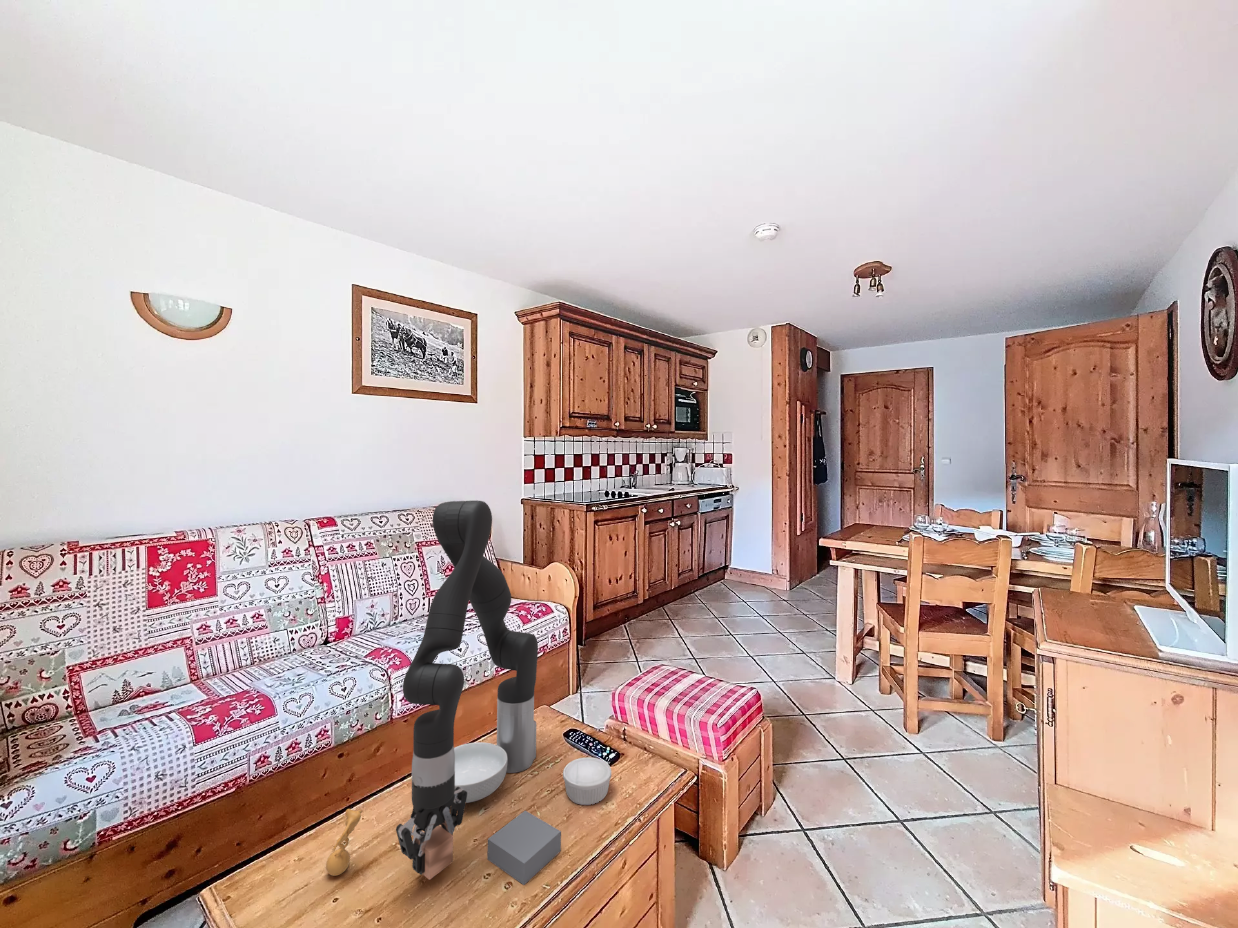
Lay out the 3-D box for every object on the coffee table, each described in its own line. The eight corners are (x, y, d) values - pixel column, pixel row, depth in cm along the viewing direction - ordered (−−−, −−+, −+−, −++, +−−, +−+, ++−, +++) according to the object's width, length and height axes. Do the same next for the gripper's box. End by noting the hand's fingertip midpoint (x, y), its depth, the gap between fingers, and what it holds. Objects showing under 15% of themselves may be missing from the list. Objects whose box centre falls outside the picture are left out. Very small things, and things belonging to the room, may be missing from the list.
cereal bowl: (475, 761, 130) (475, 733, 130) (522, 785, 121) (522, 756, 121) (416, 796, 116) (416, 766, 116) (463, 828, 107) (464, 794, 107)
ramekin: (554, 788, 120) (554, 766, 120) (593, 772, 127) (593, 751, 127) (579, 816, 111) (579, 792, 111) (620, 796, 118) (620, 774, 118)
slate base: (524, 829, 107) (525, 810, 107) (560, 850, 101) (560, 831, 101) (487, 859, 99) (487, 838, 99) (523, 884, 93) (524, 863, 93)
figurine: (339, 854, 99) (340, 793, 99) (370, 855, 99) (371, 794, 99) (314, 891, 91) (314, 824, 91) (347, 891, 91) (348, 825, 91)
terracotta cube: (436, 849, 98) (436, 823, 98) (453, 861, 95) (453, 835, 95) (413, 866, 94) (413, 839, 94) (429, 879, 91) (429, 852, 91)
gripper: (453, 746, 102) (452, 829, 103) (385, 783, 90) (385, 877, 91) (478, 759, 98) (477, 846, 98) (410, 801, 86) (409, 899, 87)
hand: (433, 860), depth 95 cm, fingers closed on terracotta cube, 5 cm apart
